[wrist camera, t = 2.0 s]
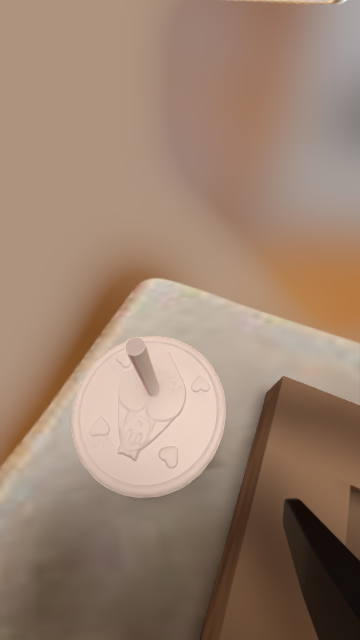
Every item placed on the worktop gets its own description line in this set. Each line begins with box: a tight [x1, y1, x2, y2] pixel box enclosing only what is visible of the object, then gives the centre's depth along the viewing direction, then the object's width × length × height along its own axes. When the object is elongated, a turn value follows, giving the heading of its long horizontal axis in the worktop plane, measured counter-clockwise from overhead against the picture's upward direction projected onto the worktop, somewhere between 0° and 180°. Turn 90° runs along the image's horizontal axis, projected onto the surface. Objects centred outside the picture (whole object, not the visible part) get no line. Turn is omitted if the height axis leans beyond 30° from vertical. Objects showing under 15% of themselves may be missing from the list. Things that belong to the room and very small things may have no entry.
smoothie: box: [71, 336, 226, 498], centre depth 12 cm, size 6×6×14 cm
